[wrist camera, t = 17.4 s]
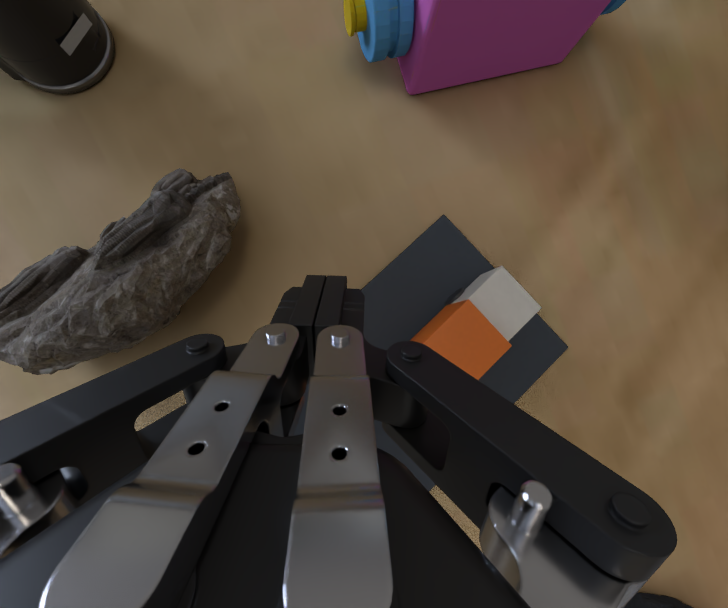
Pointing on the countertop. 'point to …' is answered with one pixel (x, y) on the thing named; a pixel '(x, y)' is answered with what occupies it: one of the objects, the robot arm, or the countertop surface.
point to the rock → (654, 602)
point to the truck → (479, 322)
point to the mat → (426, 299)
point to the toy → (469, 35)
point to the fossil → (119, 277)
